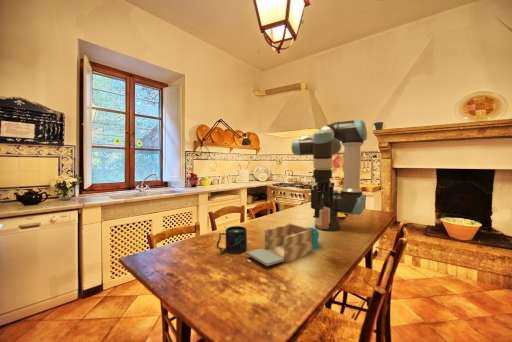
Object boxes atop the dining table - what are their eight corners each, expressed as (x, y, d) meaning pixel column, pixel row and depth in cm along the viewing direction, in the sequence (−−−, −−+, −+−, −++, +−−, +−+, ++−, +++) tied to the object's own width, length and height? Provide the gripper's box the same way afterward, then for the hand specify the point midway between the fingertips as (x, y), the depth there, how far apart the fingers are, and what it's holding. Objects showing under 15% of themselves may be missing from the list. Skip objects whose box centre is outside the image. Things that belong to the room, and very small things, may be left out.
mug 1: (241, 244, 116) (241, 224, 116) (250, 251, 107) (249, 230, 107) (212, 250, 109) (211, 229, 109) (218, 258, 100) (218, 235, 100)
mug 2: (311, 251, 107) (311, 233, 107) (297, 246, 113) (297, 230, 113) (325, 244, 115) (325, 228, 115) (311, 240, 121) (311, 225, 121)
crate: (290, 243, 117) (290, 223, 116) (312, 252, 106) (312, 230, 105) (264, 251, 106) (264, 229, 106) (286, 262, 95) (286, 237, 95)
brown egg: (321, 224, 102) (321, 208, 101) (331, 227, 98) (331, 210, 97) (314, 226, 99) (314, 210, 98) (324, 229, 95) (323, 212, 94)
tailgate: (264, 247, 106) (246, 252, 100) (285, 258, 95) (267, 263, 89) (264, 250, 106) (246, 254, 100) (285, 260, 95) (267, 266, 89)
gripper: (328, 167, 105) (327, 218, 106) (301, 169, 94) (301, 225, 96) (342, 168, 99) (342, 221, 100) (316, 170, 88) (316, 230, 90)
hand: (322, 223), depth 98 cm, fingers closed on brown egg, 5 cm apart
